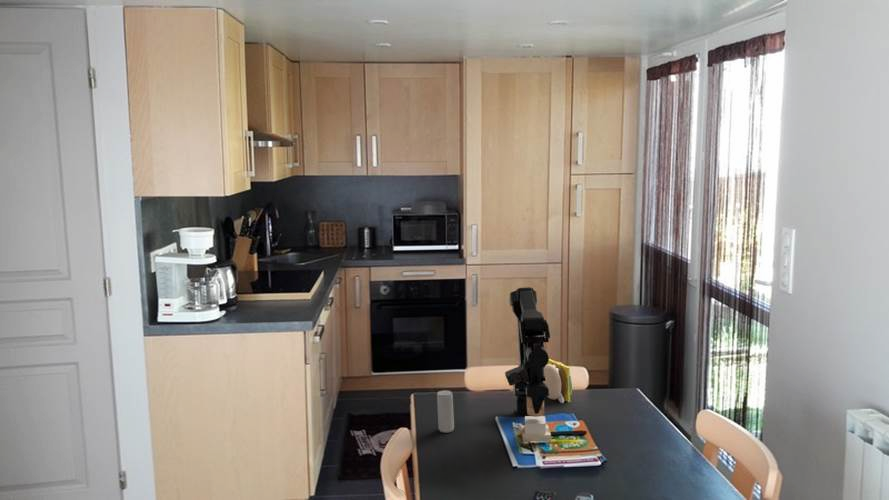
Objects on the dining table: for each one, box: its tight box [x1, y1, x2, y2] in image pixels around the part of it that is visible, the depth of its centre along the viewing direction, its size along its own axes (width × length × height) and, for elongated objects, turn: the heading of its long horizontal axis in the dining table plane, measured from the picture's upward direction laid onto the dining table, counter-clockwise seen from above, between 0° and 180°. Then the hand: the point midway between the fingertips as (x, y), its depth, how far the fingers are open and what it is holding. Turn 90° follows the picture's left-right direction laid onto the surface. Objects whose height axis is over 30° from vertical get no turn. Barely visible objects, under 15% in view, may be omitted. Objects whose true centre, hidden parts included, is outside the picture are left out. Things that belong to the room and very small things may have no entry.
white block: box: [524, 415, 547, 434], centre depth 209 cm, size 6×6×3 cm
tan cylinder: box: [527, 397, 545, 417], centre depth 208 cm, size 5×5×5 cm
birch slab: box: [520, 424, 552, 443], centre depth 209 cm, size 8×8×3 cm
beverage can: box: [436, 389, 455, 434], centre depth 218 cm, size 5×5×12 cm
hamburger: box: [543, 358, 573, 404], centre depth 242 cm, size 12×8×12 cm
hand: (535, 410), depth 208 cm, fingers closed on tan cylinder, 5 cm apart
